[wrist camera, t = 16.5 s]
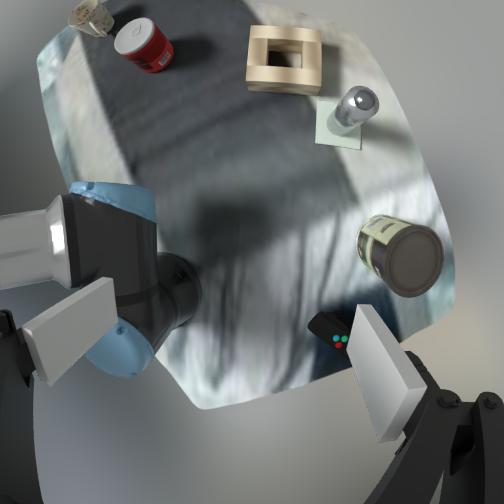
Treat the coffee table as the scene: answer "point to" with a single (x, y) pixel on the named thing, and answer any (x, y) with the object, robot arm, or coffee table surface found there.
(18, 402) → the robot arm
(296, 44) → the housing
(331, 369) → the coffee table surface
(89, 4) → the mug
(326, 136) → the pad
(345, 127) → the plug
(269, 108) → the coffee table surface
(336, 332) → the controller
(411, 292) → the coffee can
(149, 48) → the canned food
